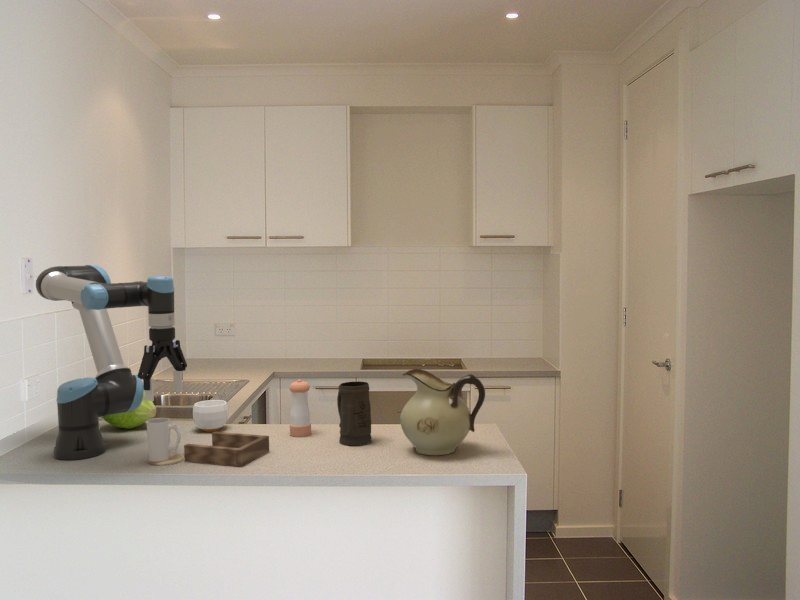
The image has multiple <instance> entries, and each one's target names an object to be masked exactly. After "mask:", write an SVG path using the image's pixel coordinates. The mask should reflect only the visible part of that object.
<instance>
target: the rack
mask: <svg viewBox="0 0 800 600" xmlns="http://www.w3.org/2000/svg"><path fill="white" fill-rule="evenodd" d="M211 444H212V445H208V444H206V445H204V444H198V443H197V444H195V443H185V444H184V445H183V451H184V452H183V457H184V462H185V461H186V462H187V463H197V464H209V465H218V466H219V465H220V466H229V467H238V468H239V467H241V468H242V467H243V466H245V465H248V464H249V463H252V462H254V461H256V458H257V459H259V458H260V457H262V456H263V455H265V454H268V453H269V452H270V436H269V435H261V434H252V433H251V434H249V433H239V432H238V433H236V432H224V431H223V432H221V431H213V432H211Z"/></svg>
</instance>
